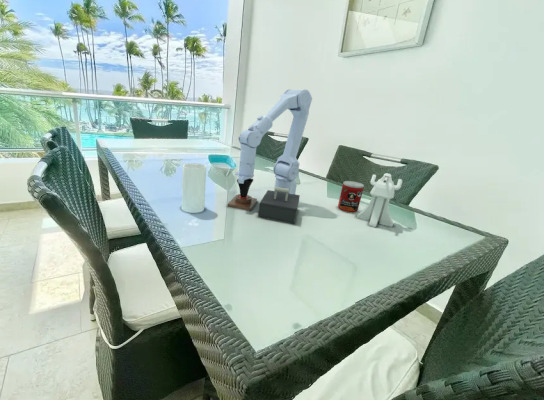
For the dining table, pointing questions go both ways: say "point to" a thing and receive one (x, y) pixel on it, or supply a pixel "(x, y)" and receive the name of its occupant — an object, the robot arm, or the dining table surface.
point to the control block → (242, 202)
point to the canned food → (350, 196)
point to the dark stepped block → (277, 214)
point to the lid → (280, 199)
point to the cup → (193, 187)
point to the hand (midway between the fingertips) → (243, 196)
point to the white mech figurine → (380, 201)
